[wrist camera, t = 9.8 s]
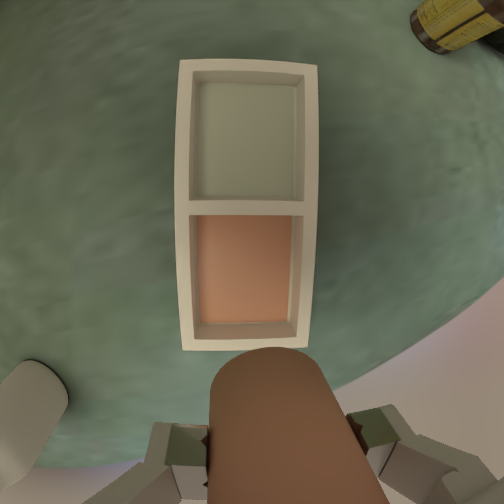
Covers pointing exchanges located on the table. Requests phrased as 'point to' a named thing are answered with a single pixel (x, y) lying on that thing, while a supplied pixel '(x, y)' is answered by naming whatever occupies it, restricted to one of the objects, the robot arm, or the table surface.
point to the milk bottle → (27, 417)
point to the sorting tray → (245, 202)
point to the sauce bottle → (455, 22)
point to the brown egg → (282, 436)
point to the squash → (496, 39)
